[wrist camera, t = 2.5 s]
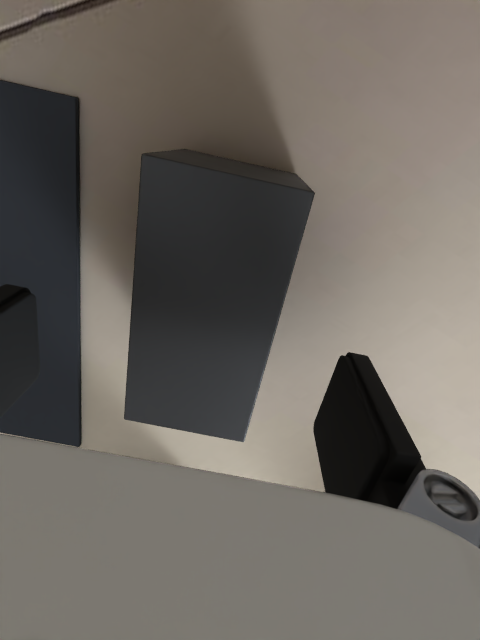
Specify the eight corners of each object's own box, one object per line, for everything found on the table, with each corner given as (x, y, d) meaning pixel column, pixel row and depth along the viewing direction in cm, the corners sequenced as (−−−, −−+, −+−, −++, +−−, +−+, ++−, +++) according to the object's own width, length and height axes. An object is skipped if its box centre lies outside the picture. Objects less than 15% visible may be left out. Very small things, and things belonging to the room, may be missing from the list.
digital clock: (180, 147, 15) (135, 151, 10) (297, 174, 15) (315, 192, 10) (158, 343, 20) (120, 419, 14) (248, 361, 20) (243, 442, 15)
